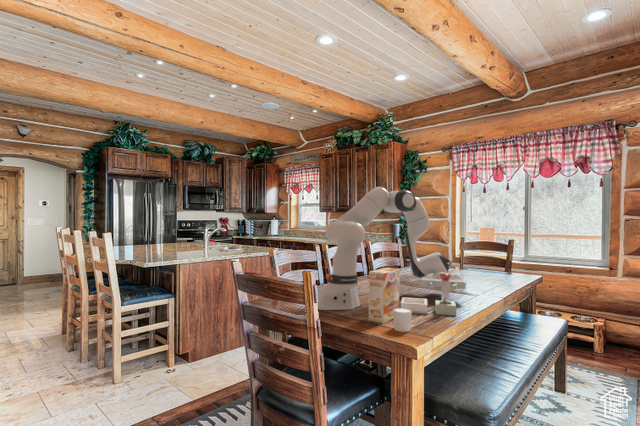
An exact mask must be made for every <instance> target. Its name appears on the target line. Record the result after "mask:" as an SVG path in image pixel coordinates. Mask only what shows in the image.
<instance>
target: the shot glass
mask: <svg viewBox="0 0 640 426" xmlns="http://www.w3.org/2000/svg"><path fill="white" fill-rule="evenodd" d="M412 314H413V313H412V311H411V310H409V309H405V308H401V307H399V308H396V309H393V327H394V328H393V329H394V330H395V331H396V332H400V333H407V332H410V331H411V324H412Z"/></svg>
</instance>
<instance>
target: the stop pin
mask: <svg viewBox="0 0 640 426" xmlns="http://www.w3.org/2000/svg"><path fill="white" fill-rule="evenodd" d="M440 278H442V291H441V301H442V304H449V301H450V290H449V278H451V273H448V274H447V273H441V274H440Z"/></svg>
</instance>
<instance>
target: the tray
mask: <svg viewBox="0 0 640 426" xmlns="http://www.w3.org/2000/svg"><path fill="white" fill-rule="evenodd" d="M400 308H405V309H409V310H411V311H412V314H417V315H418V314H419V315H428V298H418V297H403V296H402V297H401V301H400Z"/></svg>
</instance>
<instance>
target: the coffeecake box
mask: <svg viewBox="0 0 640 426" xmlns="http://www.w3.org/2000/svg"><path fill="white" fill-rule="evenodd" d="M400 276H401V275H400V268H395V267H382V268H379V269H375V270H371V271H368V321H370V322H374V323H379V324H385V323H387V322H390V321H391V320H394V318H393V309H396V308H400V285H401V284H400V283H401V282H400V278H401V277H400Z"/></svg>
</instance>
